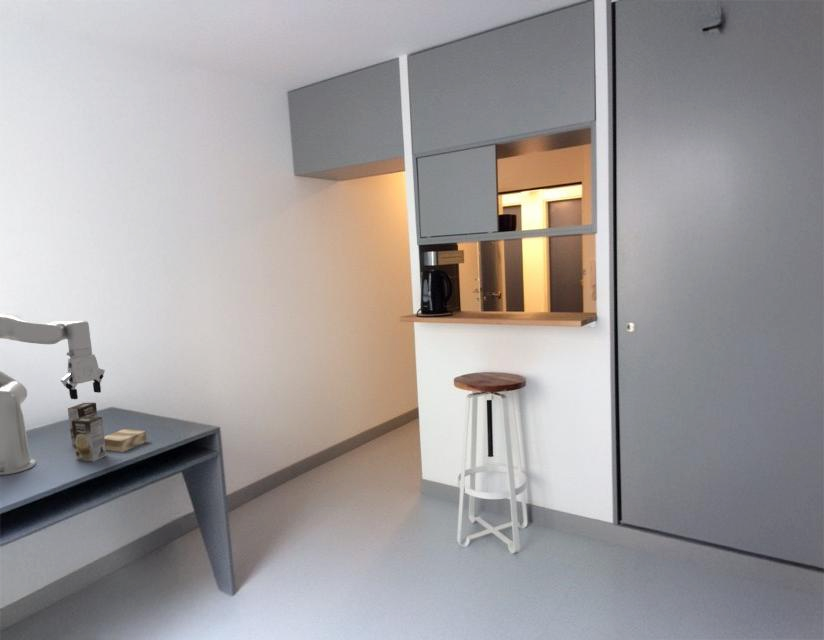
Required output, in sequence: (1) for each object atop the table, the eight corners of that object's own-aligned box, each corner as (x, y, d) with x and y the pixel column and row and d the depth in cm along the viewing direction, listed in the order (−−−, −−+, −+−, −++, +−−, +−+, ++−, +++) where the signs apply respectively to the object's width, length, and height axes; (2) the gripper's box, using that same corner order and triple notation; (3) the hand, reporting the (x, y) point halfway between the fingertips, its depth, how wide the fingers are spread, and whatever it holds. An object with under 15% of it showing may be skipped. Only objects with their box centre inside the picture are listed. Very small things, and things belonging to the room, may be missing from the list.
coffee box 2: (75, 460, 207) (69, 420, 205) (89, 454, 213) (84, 415, 211) (94, 461, 205) (88, 421, 202) (107, 455, 211) (102, 416, 209)
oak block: (122, 453, 214) (120, 441, 213) (101, 450, 218) (99, 438, 217) (146, 442, 225) (145, 431, 224) (126, 439, 229) (124, 428, 229)
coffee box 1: (84, 445, 223) (79, 408, 221) (71, 445, 224) (66, 408, 222) (101, 437, 232) (96, 402, 230) (88, 437, 233) (83, 401, 231)
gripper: (65, 357, 196) (71, 402, 199) (107, 348, 212) (112, 390, 215) (52, 356, 199) (57, 401, 201) (94, 348, 215) (99, 389, 217)
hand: (86, 395), depth 208 cm, fingers open, 9 cm apart
